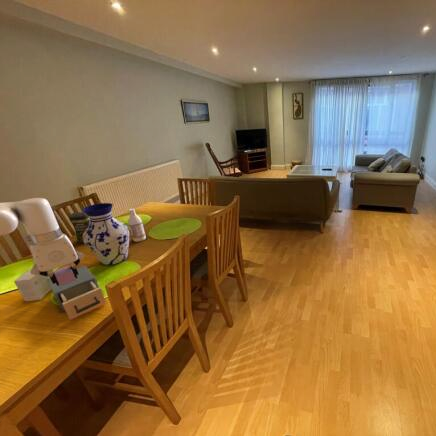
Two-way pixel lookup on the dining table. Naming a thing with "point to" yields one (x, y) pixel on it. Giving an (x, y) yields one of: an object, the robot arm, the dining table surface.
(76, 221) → the coffee jar
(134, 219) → the bath foam
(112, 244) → the vase
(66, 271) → the lavender rounded block
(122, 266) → the dining table surface
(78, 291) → the sliding drawer
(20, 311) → the dining table surface
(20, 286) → the small box
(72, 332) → the dining table surface
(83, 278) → the drawer box
